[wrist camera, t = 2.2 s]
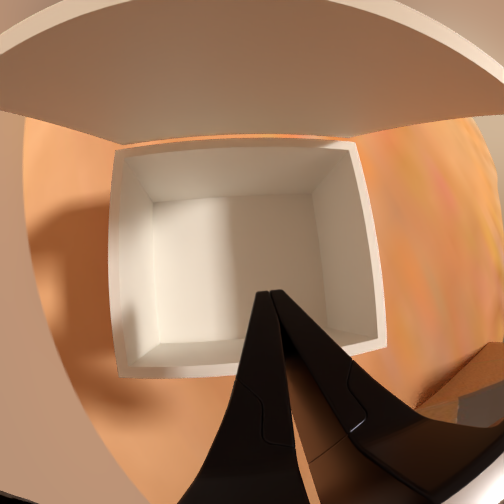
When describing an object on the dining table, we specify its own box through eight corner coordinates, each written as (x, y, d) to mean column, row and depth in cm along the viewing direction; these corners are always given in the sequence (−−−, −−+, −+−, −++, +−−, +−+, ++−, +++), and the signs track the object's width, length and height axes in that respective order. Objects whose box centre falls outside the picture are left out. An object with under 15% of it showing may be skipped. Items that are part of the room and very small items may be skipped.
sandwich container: (409, 410, 20) (519, 456, 6) (489, 339, 23) (579, 340, 8) (415, 460, 19) (498, 510, 5) (491, 390, 22) (569, 403, 7)
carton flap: (537, 113, 3) (533, 96, 3) (-58, 99, 1) (-52, 75, 1) (348, 137, 14) (347, 130, 14) (122, 145, 13) (122, 136, 13)
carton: (332, 332, 21) (387, 346, 13) (155, 350, 19) (118, 377, 11) (314, 189, 23) (355, 142, 15) (147, 199, 21) (115, 150, 13)
